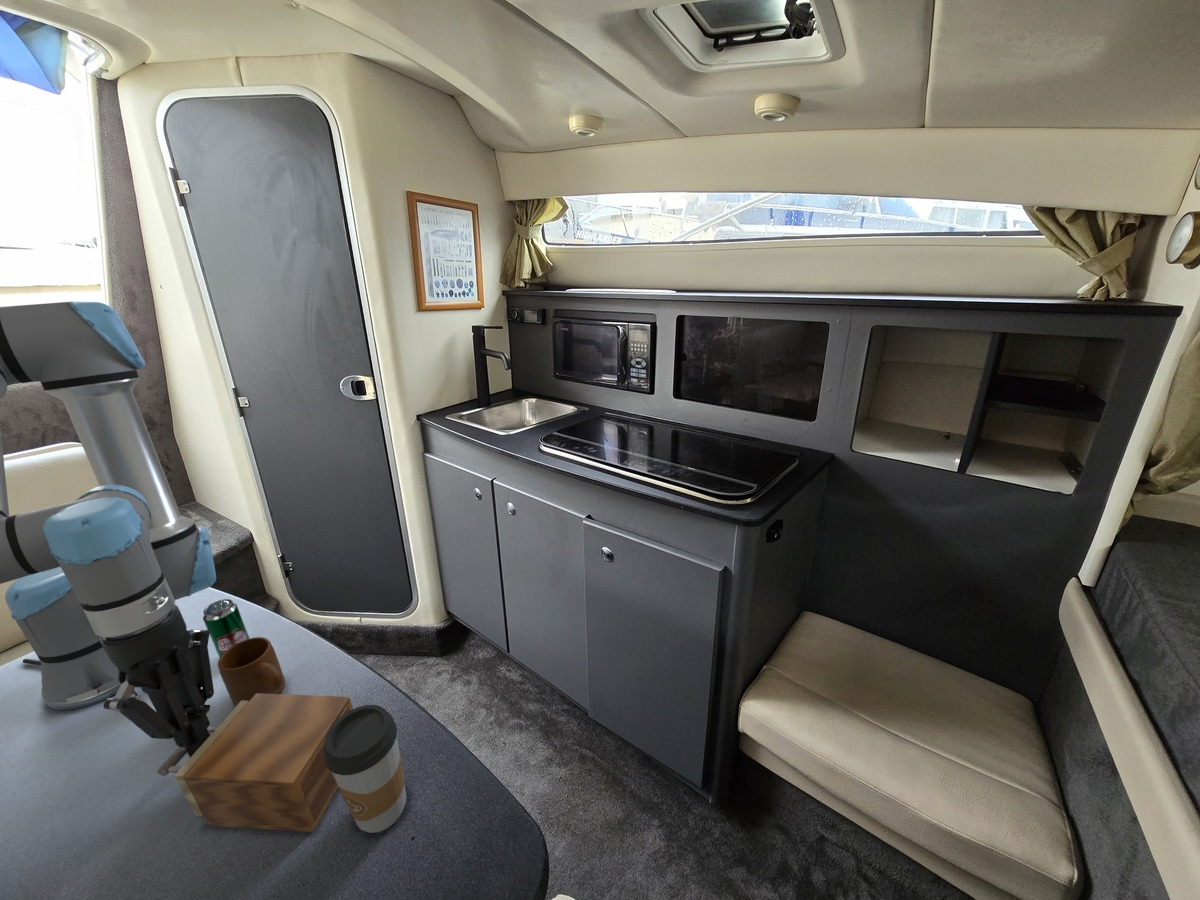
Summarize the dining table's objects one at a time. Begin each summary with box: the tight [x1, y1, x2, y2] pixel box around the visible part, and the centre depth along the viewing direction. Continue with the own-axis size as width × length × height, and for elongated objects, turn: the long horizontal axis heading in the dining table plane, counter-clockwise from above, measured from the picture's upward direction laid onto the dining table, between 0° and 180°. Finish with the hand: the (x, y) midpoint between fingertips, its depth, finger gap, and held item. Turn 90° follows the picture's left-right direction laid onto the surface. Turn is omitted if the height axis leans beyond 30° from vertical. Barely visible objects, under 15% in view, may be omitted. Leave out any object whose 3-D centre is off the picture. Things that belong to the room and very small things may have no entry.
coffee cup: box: [324, 704, 407, 834], centre depth 64 cm, size 8×8×15 cm
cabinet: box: [184, 693, 354, 833], centre depth 69 cm, size 15×13×10 cm
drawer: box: [156, 701, 249, 817], centre depth 69 cm, size 19×11×8 cm, turn 86°
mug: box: [217, 636, 286, 708], centre depth 82 cm, size 12×8×9 cm, turn 63°
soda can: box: [202, 598, 250, 659], centre depth 91 cm, size 5×5×12 cm
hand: (203, 753), depth 69 cm, fingers closed
